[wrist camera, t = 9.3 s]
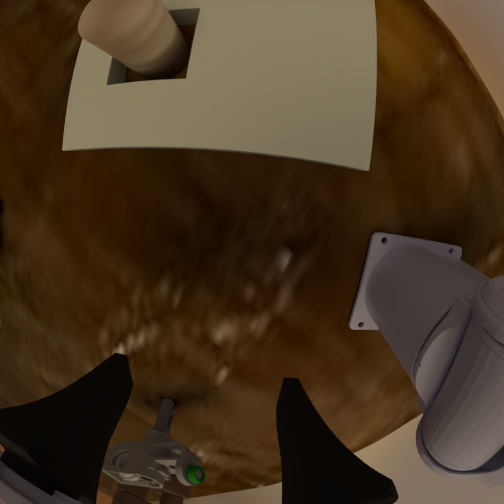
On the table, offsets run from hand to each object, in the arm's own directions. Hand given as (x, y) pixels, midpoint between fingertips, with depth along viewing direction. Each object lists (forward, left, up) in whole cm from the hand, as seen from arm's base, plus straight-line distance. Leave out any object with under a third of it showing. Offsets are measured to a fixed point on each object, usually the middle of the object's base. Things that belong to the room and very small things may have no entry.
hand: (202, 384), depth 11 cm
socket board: (+2, -17, -9) cm, 20 cm away
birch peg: (+6, -17, -9) cm, 20 cm away
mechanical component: (+5, +14, -10) cm, 18 cm away
